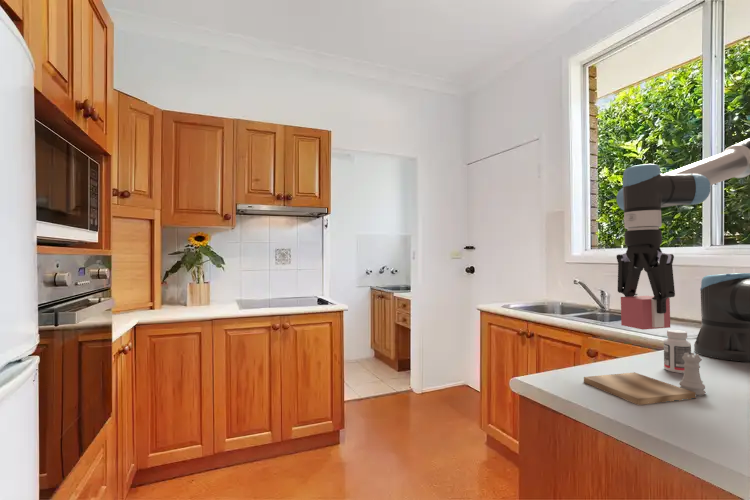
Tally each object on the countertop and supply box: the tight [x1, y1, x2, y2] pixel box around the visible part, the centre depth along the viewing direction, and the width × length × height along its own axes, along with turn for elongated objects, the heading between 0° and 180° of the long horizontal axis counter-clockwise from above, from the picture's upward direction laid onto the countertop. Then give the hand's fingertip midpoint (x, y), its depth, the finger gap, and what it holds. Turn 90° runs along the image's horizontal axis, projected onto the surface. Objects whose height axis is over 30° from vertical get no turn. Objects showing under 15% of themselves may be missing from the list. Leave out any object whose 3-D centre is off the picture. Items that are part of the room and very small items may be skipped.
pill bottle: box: [663, 329, 692, 374], centre depth 98 cm, size 5×5×10 cm
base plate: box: [583, 371, 697, 406], centre depth 85 cm, size 14×14×1 cm
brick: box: [620, 295, 671, 331], centre depth 96 cm, size 8×6×7 cm
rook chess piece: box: [678, 352, 707, 396], centre depth 83 cm, size 4×4×8 cm
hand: (645, 324), depth 96 cm, fingers closed on brick, 6 cm apart
